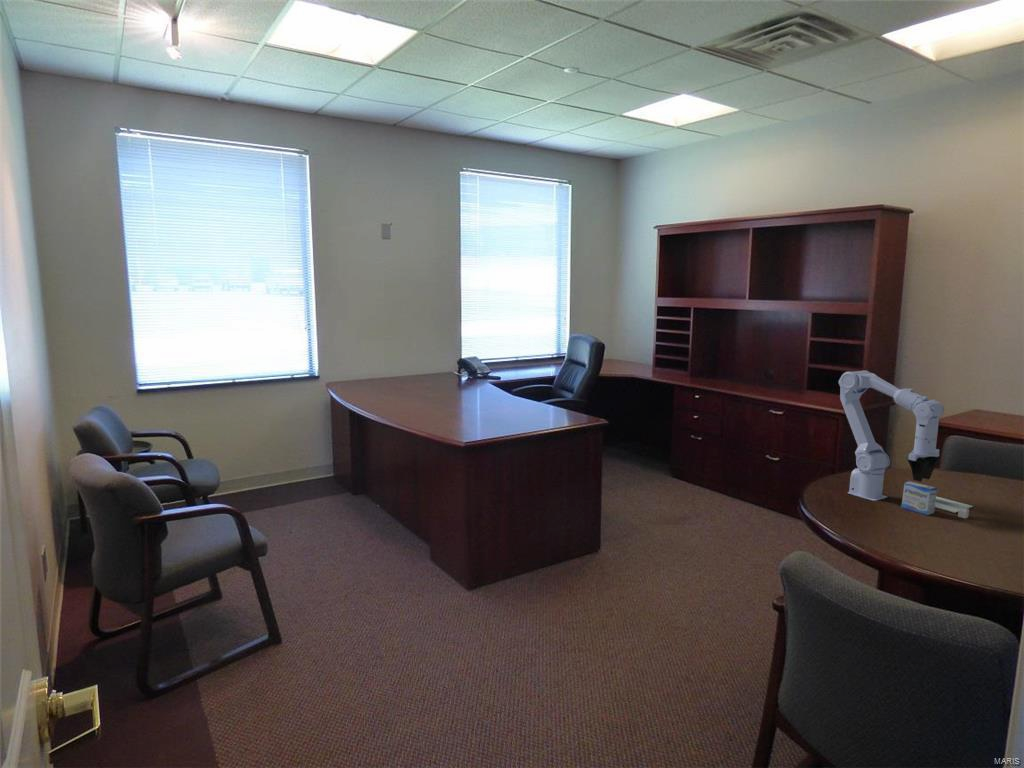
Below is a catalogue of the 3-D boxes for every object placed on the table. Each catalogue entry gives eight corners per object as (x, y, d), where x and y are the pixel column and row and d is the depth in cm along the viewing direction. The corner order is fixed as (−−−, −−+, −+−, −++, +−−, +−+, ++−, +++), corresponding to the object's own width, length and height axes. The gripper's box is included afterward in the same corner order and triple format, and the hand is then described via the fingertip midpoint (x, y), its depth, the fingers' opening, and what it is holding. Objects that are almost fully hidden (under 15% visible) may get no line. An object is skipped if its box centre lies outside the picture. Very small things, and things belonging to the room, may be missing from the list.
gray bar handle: (904, 501, 203) (904, 494, 203) (907, 500, 204) (907, 493, 204) (965, 518, 187) (966, 510, 187) (968, 517, 188) (969, 509, 188)
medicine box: (900, 508, 196) (903, 482, 195) (908, 505, 199) (910, 480, 197) (927, 515, 190) (930, 489, 188) (934, 513, 192) (937, 487, 191)
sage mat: (908, 500, 204) (908, 499, 204) (926, 494, 210) (926, 493, 210) (954, 513, 192) (954, 512, 192) (972, 506, 198) (972, 505, 198)
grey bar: (905, 494, 203) (905, 491, 203) (907, 493, 203) (907, 490, 203) (966, 510, 187) (967, 507, 187) (968, 510, 188) (968, 506, 188)
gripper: (927, 443, 184) (923, 486, 186) (951, 438, 191) (947, 479, 193) (903, 438, 190) (899, 480, 192) (927, 433, 197) (923, 474, 199)
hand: (921, 479), depth 193 cm, fingers open, 4 cm apart
